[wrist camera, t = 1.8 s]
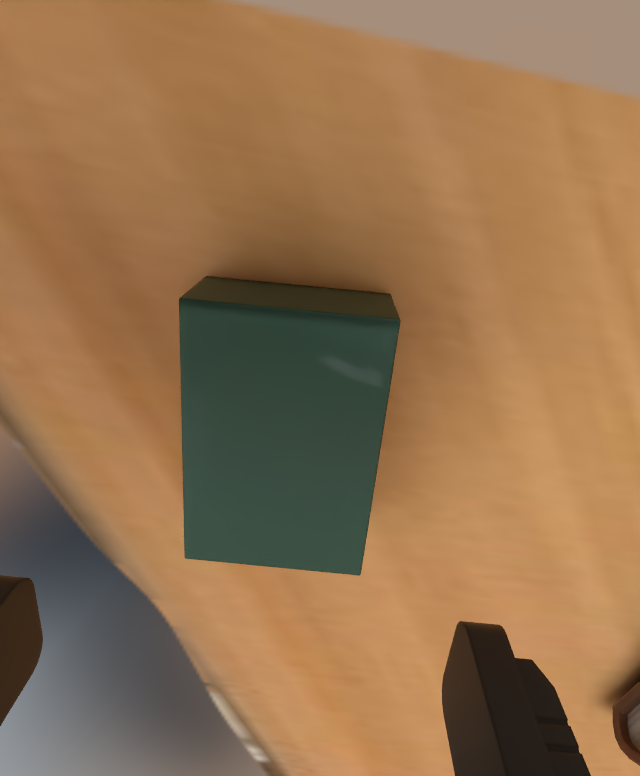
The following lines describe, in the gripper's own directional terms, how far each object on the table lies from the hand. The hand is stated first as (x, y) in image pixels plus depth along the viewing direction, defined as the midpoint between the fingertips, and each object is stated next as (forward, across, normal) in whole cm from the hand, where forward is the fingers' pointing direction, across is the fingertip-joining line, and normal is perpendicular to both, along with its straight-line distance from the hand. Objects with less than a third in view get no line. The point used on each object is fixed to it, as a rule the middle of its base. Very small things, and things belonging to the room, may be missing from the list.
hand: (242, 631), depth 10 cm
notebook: (+9, 0, 0) cm, 9 cm away
